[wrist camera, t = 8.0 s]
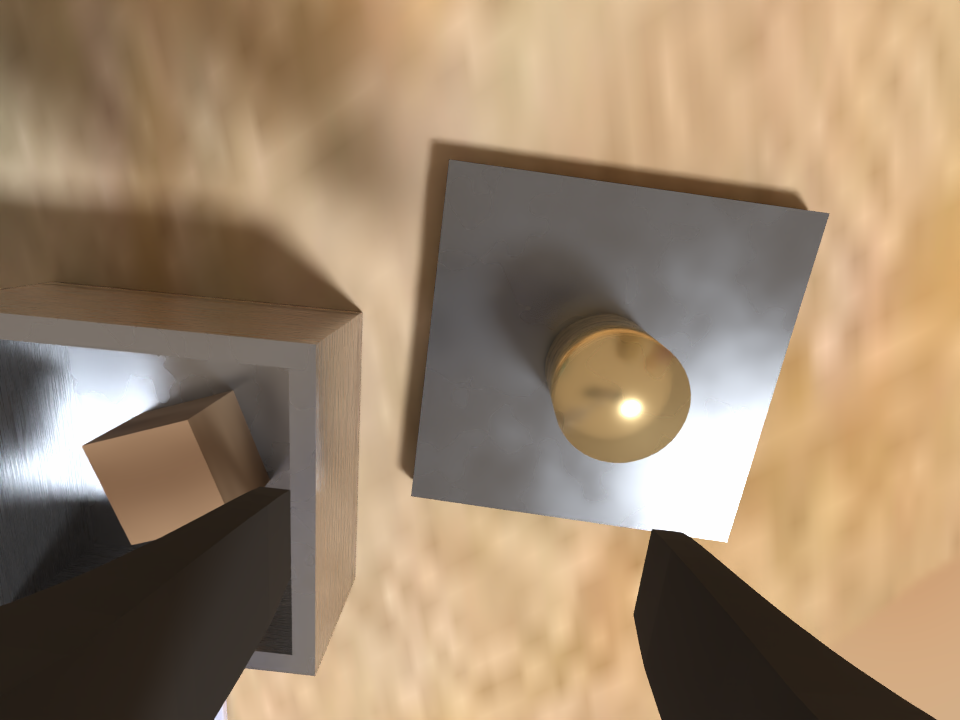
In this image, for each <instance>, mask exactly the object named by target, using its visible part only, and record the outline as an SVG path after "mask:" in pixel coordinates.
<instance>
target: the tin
mask: <svg viewBox="0 0 960 720" xmlns="http://www.w3.org/2000/svg"><path fill="white" fill-rule="evenodd" d="M361 347H362V312H354V311H343V310H333V309H323V308H313V307H303V306H292V305H282V304H272V303H262V302H252V301H242V300H231V299H221V298H211V297H201V296H191V295H180V294H170V293H160V292H150V291H140V290H130V289H119V288H109V287H99V286H89V285H79V284H69V283H58V282H48V283H41V284H35V285H28V286H21V287H14V288H8V289H1V290H0V606H2V605H5V604H8V603H11V602H13V601H16V600H19V599H21V598H24V597H27V596H29V595H32V594H34V593H37V592H39V591H42V590H44V589H47V588H49V587H52V586H54V585H57V584H59V583H62V582H64V581H67V580H69V579H72V578H74V577H76V576H79V575H81V574H83V573H86V572H88V571H90V570H93V569H95V568H97V567H99V566H102V565H104V564H106V563H108V562H110V561H112V560H114V559H117V558H119V557H121V556H123V555H125V554H127V553H129V552H131V551H133V550H135V549H137V548H139V547H142V546H144V545H146V544H148V543H150V542H152V541H154V540H152V541H148V542H143V543H139V544H134V545H131V543H130V541H129V539H128V537H127V535H126V533H125V531H124V529H123V527H122V526H121V524H120V522H119V520H118V518H117V516H116V514H115V512H114V510H113V508H112V506H111V504H110V502H109V500H108V498H107V496H106V494H105V492H104V490H103V488H102V486H101V484H100V482H99V480H98V478H97V476H96V474H95V472H94V470H93V468H92V466H91V464H90V462H89V460H88V458H87V456H86V454H85V452H84V450H83V448H82V445H84V444H86V443H88V442H89V441H91V440H93V439H95V438H97V437H99V436H100V435H102V434H104V433H106V432H108V431H110V430H111V429H113V428H115V427H117V426H119V425H121V424H122V423H124V422H126V421H128V420H130V419H131V418H133V417H135V416H137V415H139V414H141V413H144V412H148V411H152V410H156V409H160V408H164V407H168V406H172V405H176V404H180V403H184V402H188V401H192V400H196V399H200V398H204V397H208V396H212V395H216V394H220V393H224V392H228V391H232V390H233V391H234V394H235V396H236V398H237V401H238V403H239V406H240V408H241V411H242V413H243V415H244V418H245V420H246V423H247V425H248V428H249V430H250V433H251V435H252V437H253V440H254V442H255V445H256V447H257V450H258V452H259V455H260V457H261V459H262V462H263V464H264V467H265V469H266V472H267V474H268V476H269V479H270V481H269V482H268V483H267V485H266V486H265V487H270V488H279V489H288V490H290V502H291V578H290V580H289V582H288V585H287V587H286V590H285V592H284V594H283V597H282V599H281V601H280V604H279V606H278V608H277V610H276V613H275V615H274V617H273V619H272V621H271V624H270V626H269V627H268V629H267V631H266V633H265V634H264V636H263V638H262V640H261V641H260V643H259V645H258V647H257V648H256V650H255V652H254V653H253V655H252V657H251V658H250V660H249V662H248V664H247V665H246V667H245V668H248V669H257V670H266V671H275V672H284V673H293V674H302V675H311V676H315V675H316V673H317V670H318V668H319V665H320V663H321V661H322V658H323V656H324V653H325V651H326V648H327V646H328V643H329V641H330V639H331V636H332V634H333V631H334V629H335V626H336V624H337V621H338V619H339V617H340V614H341V612H342V609H343V607H344V604H345V602H346V599H347V597H348V595H349V592H350V590H351V587H352V585H353V582H354V580H355V562H356V527H357V491H358V455H359V419H360V383H361Z"/></svg>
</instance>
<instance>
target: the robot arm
mask: <svg viewBox="0 0 960 720" xmlns="http://www.w3.org/2000/svg"><path fill="white" fill-rule="evenodd" d="M290 578H291V502H290V490H288V489H279V488H270V487H258V488H256V489H253V490H251V491H249V492H247V493H245V494H243V495H241V496H239V497H237V498H235V499H233V500H231V501H229V502H227V503H225V504H224V505H222V506H220V507H218V508H216V509H214V510H212V511H210V512H208V513H207V514H205V515H203V516H201V517H199V518H197V519H195V520H193V521H191V522H189V523H187V524H186V525H184V526H182V527H180V528H178V529H176V530H174V531H172V532H170V533H168V534H166V535H164V536H162V537H160V538H158V539H156V540H154V541H152V542H150V543H148V544H146V545H144V546H142V547H139V548H137V549H135V550H133V551H131V552H129V553H127V554H125V555H123V556H121V557H119V558H117V559H114V560H112V561H110V562H108V563H106V564H104V565H102V566H99V567H97V568H95V569H93V570H90V571H88V572H86V573H83V574H81V575H79V576H76V577H74V578H72V579H69V580H67V581H64V582H62V583H59V584H57V585H54V586H52V587H49V588H47V589H44V590H42V591H39V592H37V593H34V594H32V595H29V596H27V597H24V598H21V599H19V600H16V601H13V602H11V603H8V604H5V605H2V606H0V720H227V703H226V699H227V697H228V696H229V694H230V692H231V690H232V689H233V687H234V685H235V684H236V682H237V680H238V679H239V677H240V675H241V674H242V672H243V670H244V669H245V667H246V665H247V664H248V662H249V660H250V658H251V657H252V655H253V653H254V652H255V650H256V648H257V647H258V645H259V643H260V641H261V640H262V638H263V636H264V634H265V633H266V631H267V629H268V627H269V626H270V624H271V621H272V619H273V617H274V615H275V613H276V610H277V608H278V606H279V604H280V601H281V599H282V597H283V594H284V592H285V590H286V587H287V585H288V582H289V580H290ZM634 620H635V625H636V630H637V635H638V641H639V645H640V650H641V655H642V659H643V664H644V668H645V671H646V674H647V677H648V680H649V683H650V686H651V689H652V692H653V695H654V699H655V702H656V705H657V708H658V711H659V714H660V716H661V719H662V720H936V719H935V718H933V717H932V716H930V715H928V714H927V713H925V712H924V711H922V710H920V709H919V708H917V707H915V706H914V705H912V704H911V703H909V702H907V701H906V700H904V699H903V698H901V697H900V696H898V695H897V694H895V693H894V692H892V691H891V690H889V689H888V688H886V687H885V686H883V685H882V684H880V683H879V682H877V681H876V680H874V679H873V678H871V677H870V676H868V675H867V674H865V673H864V672H862V671H861V670H859V669H858V668H856V667H855V666H853V665H852V664H851V663H849V662H848V661H846V660H845V659H844V658H842V657H841V656H839V655H838V654H836V653H835V652H834V651H832V650H831V649H830V648H828V647H827V646H826V645H824V644H823V643H822V642H820V641H819V640H818V639H816V638H815V637H814V636H812V635H811V634H810V633H808V632H807V631H806V630H804V629H803V628H802V627H800V626H799V625H798V624H796V623H795V622H794V621H792V620H791V619H790V618H789V617H787V616H786V615H785V614H783V613H782V612H781V611H780V610H778V609H777V608H776V607H775V606H773V605H772V604H771V603H770V602H768V601H767V600H766V599H765V598H763V597H762V596H761V595H760V594H759V593H757V592H756V591H755V590H754V589H752V588H751V587H750V586H749V585H748V584H746V583H745V582H744V581H743V580H742V579H740V578H739V577H738V576H737V575H736V574H734V573H733V572H732V571H731V570H730V569H728V568H727V567H726V566H725V565H724V564H723V563H721V562H720V561H719V560H718V559H717V558H715V557H714V556H713V555H712V554H711V553H709V552H708V551H707V550H706V549H704V548H703V547H702V546H701V545H700V544H698V543H697V542H696V541H694V540H693V539H692V538H691V537H689V536H688V535H686V534H685V533H684V532H677V531H668V530H659V529H652V531H651V536H650V540H649V545H648V550H647V554H646V559H645V564H644V568H643V573H642V578H641V582H640V587H639V592H638V596H637V601H636V606H635V610H634Z"/></svg>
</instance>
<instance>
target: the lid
mask: <svg viewBox="0 0 960 720" xmlns="http://www.w3.org/2000/svg"><path fill="white" fill-rule="evenodd" d="M828 216H829V213H822V212H815V211H808V210H801V209H794V208H787V207H780V206H773V205H766V204H759V203H752V202H745V201H738V200H731V199H724V198H717V197H710V196H703V195H696V194H689V193H682V192H675V191H668V190H660V189H653V188H646V187H639V186H632V185H625V184H618V183H611V182H604V181H597V180H590V179H583V178H576V177H569V176H562V175H555V174H548V173H541V172H534V171H527V170H520V169H513V168H506V167H499V166H492V165H485V164H478V163H471V162H464V161H457V160H450V159H449V166H448V175H447V184H446V193H445V202H444V210H443V219H442V228H441V237H440V246H439V255H438V264H437V273H436V281H435V290H434V299H433V308H432V317H431V326H430V335H429V343H428V352H427V361H426V370H425V379H424V388H423V397H422V406H421V414H420V423H419V432H418V441H417V450H416V459H415V468H414V476H413V485H412V494H411V496H414V497H421V498H428V499H434V500H441V501H448V502H455V503H462V504H469V505H476V506H483V507H489V508H496V509H503V510H510V511H517V512H524V513H531V514H538V515H544V516H551V517H558V518H565V519H572V520H579V521H586V522H593V523H599V524H606V525H613V526H620V527H627V528H634V529H641V530H648V531H652V529H659V530H668V531H677V532H684V533H685V534H686V535H688V536H689V537H696V538H703V539H709V540H716V541H723V542H727V539H728V536H729V533H730V530H731V527H732V523H733V520H734V517H735V514H736V511H737V507H738V504H739V501H740V498H741V495H742V491H743V488H744V485H745V482H746V479H747V475H748V472H749V469H750V466H751V463H752V459H753V456H754V453H755V450H756V447H757V443H758V440H759V437H760V434H761V431H762V427H763V424H764V421H765V418H766V415H767V411H768V408H769V405H770V402H771V399H772V395H773V392H774V389H775V386H776V383H777V379H778V376H779V373H780V370H781V367H782V363H783V360H784V357H785V354H786V351H787V347H788V344H789V341H790V338H791V335H792V331H793V328H794V325H795V322H796V319H797V315H798V312H799V309H800V306H801V303H802V299H803V296H804V293H805V290H806V287H807V283H808V280H809V277H810V274H811V271H812V267H813V264H814V261H815V258H816V255H817V251H818V248H819V245H820V242H821V239H822V235H823V232H824V229H825V226H826V223H827V219H828Z"/></svg>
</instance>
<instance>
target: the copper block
mask: <svg viewBox="0 0 960 720" xmlns="http://www.w3.org/2000/svg"><path fill="white" fill-rule="evenodd" d="M82 448H83V450H84V452H85V454H86V456H87V458H88V460H89V462H90V464H91V466H92V468H93V470H94V472H95V474H96V476H97V478H98V480H99V482H100V484H101V486H102V488H103V490H104V492H105V494H106V496H107V498H108V500H109V502H110V504H111V506H112V508H113V510H114V512H115V514H116V516H117V518H118V520H119V522H120V524H121V526H122V527H123V529H124V531H125V533H126V535H127V537H128V539H129V541H130V543H131V545H134V544H139V543H143V542H148V541H152V540H156V539H158V538H160V537H162V536H164V535H166V534H168V533H170V532H172V531H174V530H176V529H178V528H180V527H182V526H184V525H186V524H187V523H189V522H191V521H193V520H195V519H197V518H199V517H201V516H203V515H205V514H207V513H208V512H210V511H212V510H214V509H216V508H218V507H220V506H222V505H224V504H225V503H227V502H229V501H231V500H233V499H235V498H237V497H239V496H241V495H243V494H245V493H247V492H249V491H251V490H253V489H256V488H258V487H265V486H266V485H267V483H268V482H269V481H270V479H269V476H268V474H267V472H266V469H265V467H264V464H263V462H262V459H261V457H260V455H259V452H258V450H257V447H256V445H255V442H254V440H253V437H252V435H251V433H250V430H249V428H248V425H247V423H246V420H245V418H244V415H243V413H242V411H241V408H240V406H239V403H238V401H237V398H236V396H235V394H234V391H233V390H232V391H228V392H224V393H220V394H216V395H212V396H208V397H204V398H200V399H196V400H192V401H188V402H184V403H180V404H176V405H172V406H168V407H164V408H160V409H156V410H152V411H148V412H144V413H141V414H139V415H137V416H135V417H133V418H131V419H130V420H128V421H126V422H124V423H122V424H121V425H119V426H117V427H115V428H113V429H111V430H110V431H108V432H106V433H104V434H102V435H100V436H99V437H97V438H95V439H93V440H91V441H89V442H88V443H86V444H84V445H82Z"/></svg>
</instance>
